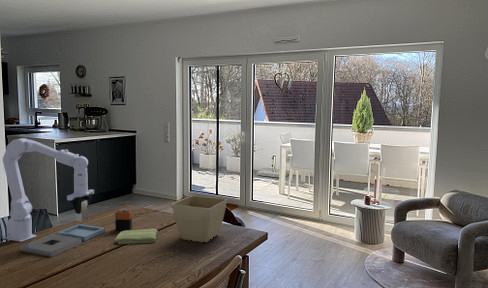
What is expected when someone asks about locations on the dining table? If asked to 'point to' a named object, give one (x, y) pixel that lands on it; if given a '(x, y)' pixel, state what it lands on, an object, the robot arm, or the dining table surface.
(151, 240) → the washcloth
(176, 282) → the dining table surface
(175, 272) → the dining table surface
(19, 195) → the robot arm
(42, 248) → the pin plate
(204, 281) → the dining table surface
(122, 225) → the battery
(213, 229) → the flower pot
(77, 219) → the pin
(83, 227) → the tray
